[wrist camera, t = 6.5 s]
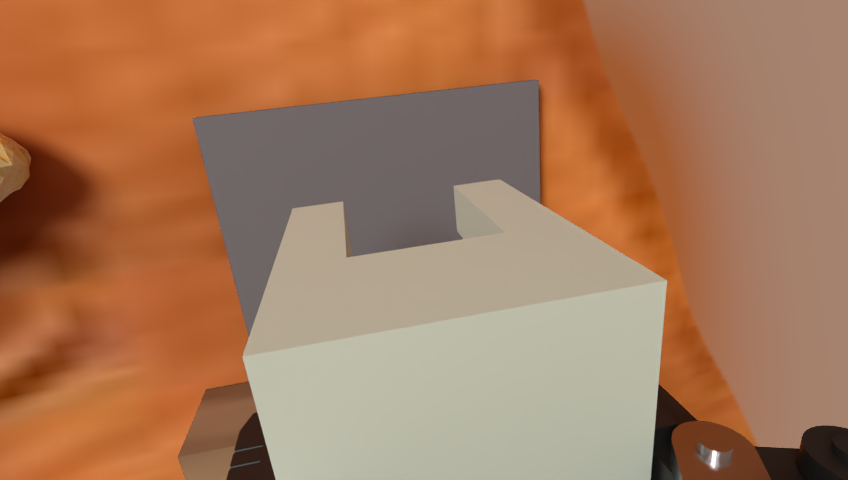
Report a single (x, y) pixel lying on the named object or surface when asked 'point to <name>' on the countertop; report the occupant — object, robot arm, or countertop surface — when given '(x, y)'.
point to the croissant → (12, 166)
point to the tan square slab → (216, 432)
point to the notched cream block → (458, 351)
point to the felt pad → (364, 168)
